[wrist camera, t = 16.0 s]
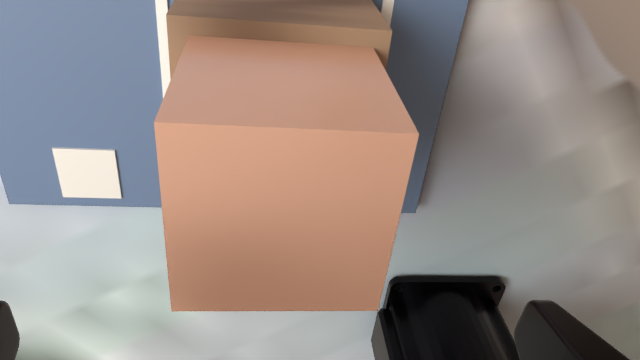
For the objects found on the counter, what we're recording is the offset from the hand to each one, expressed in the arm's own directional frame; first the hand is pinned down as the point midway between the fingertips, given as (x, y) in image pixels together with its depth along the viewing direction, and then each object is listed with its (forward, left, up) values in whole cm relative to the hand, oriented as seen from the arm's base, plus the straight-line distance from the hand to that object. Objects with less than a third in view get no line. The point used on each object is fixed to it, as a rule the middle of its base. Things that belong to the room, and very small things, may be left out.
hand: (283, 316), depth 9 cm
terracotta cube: (0, 0, -7) cm, 7 cm away
